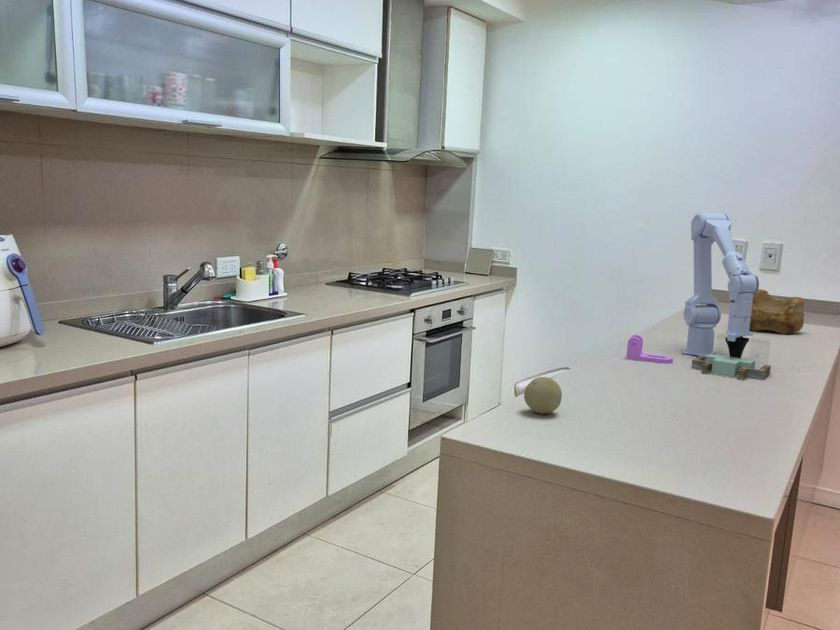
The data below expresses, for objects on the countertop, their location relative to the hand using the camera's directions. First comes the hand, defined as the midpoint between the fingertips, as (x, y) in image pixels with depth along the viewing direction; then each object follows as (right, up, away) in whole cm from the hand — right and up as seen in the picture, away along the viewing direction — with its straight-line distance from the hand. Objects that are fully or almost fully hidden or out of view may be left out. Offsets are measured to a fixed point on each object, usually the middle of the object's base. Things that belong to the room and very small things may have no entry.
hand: (734, 362), depth 205 cm
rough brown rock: (+40, +7, +65) cm, 76 cm away
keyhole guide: (-4, -3, -5) cm, 7 cm away
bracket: (-22, 0, +8) cm, 23 cm away
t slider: (-5, -3, -6) cm, 8 cm away
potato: (-64, -8, -48) cm, 81 cm away
